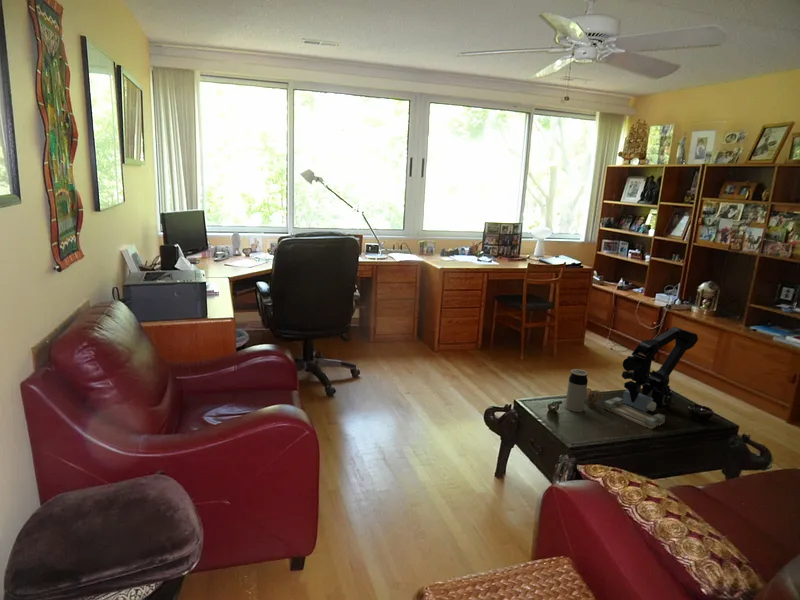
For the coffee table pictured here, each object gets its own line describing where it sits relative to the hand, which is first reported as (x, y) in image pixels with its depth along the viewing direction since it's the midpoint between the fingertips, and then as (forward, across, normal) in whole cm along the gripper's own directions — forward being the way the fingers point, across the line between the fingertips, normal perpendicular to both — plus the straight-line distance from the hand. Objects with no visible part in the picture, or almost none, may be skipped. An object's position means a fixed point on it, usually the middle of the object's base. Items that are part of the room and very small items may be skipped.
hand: (638, 400), depth 239 cm
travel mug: (+3, +30, -13) cm, 33 cm away
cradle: (+3, +12, +5) cm, 13 cm away
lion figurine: (+3, +19, -12) cm, 23 cm away
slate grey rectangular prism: (+3, 0, 0) cm, 3 cm away
